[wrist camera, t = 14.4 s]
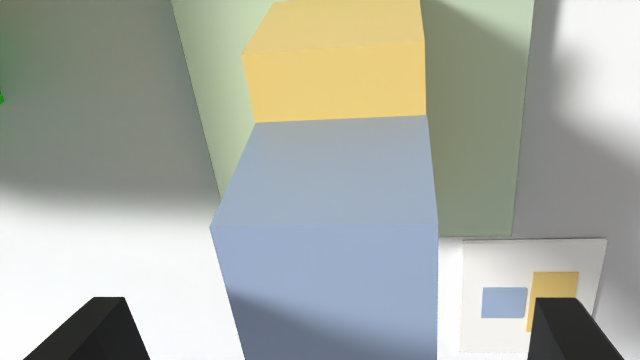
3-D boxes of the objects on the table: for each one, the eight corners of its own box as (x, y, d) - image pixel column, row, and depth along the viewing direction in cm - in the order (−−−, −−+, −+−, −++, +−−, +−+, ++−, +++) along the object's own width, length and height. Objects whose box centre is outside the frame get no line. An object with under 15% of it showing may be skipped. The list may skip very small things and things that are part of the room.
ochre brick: (423, 200, 19) (429, 284, 15) (306, 204, 19) (288, 285, 16) (418, -11, 15) (424, 40, 12) (273, 2, 16) (240, 54, 12)
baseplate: (506, 218, 20) (511, 235, 19) (237, 223, 22) (231, 239, 21) (533, -87, 15) (542, -81, 14) (171, -51, 16) (159, -43, 15)
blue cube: (427, 250, 15) (436, 377, 12) (280, 251, 15) (249, 372, 12) (426, 115, 13) (438, 224, 9) (255, 122, 13) (208, 227, 10)
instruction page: (581, 350, 23) (583, 356, 23) (458, 348, 24) (459, 354, 24) (605, 238, 20) (608, 243, 20) (462, 240, 21) (463, 245, 21)
